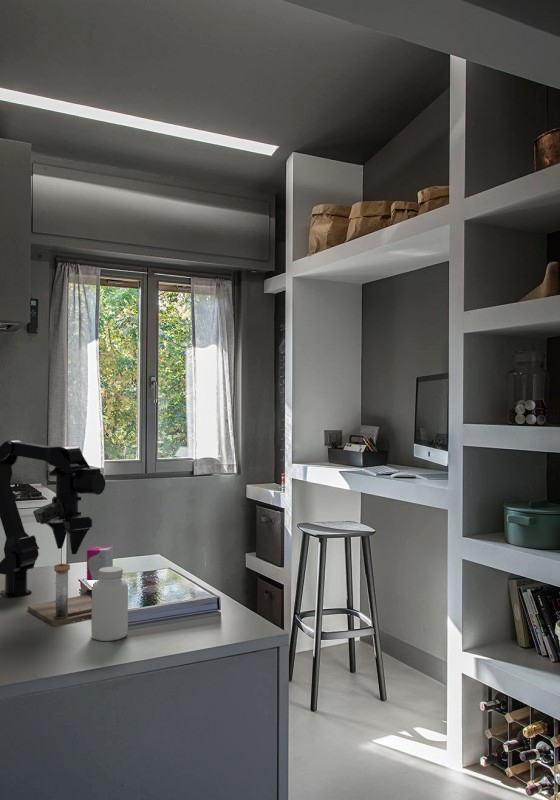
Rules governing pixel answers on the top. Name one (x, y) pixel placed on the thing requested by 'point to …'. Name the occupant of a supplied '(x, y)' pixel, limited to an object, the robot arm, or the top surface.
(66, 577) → the capped cylinder
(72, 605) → the brown wooden flat board
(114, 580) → the pill bottle
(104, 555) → the supplement box
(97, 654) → the top surface
